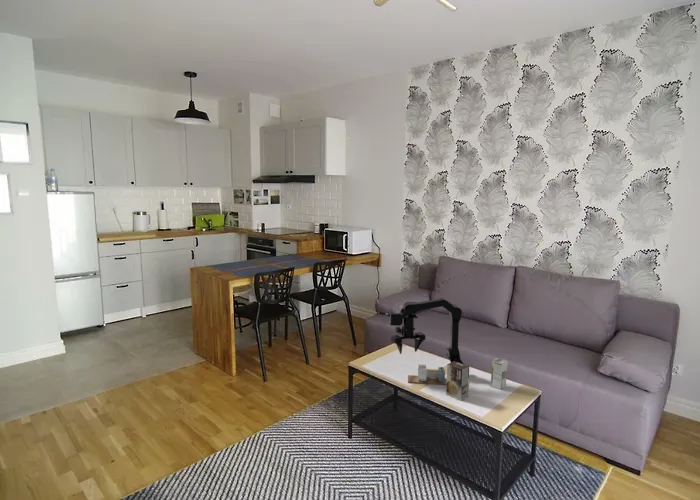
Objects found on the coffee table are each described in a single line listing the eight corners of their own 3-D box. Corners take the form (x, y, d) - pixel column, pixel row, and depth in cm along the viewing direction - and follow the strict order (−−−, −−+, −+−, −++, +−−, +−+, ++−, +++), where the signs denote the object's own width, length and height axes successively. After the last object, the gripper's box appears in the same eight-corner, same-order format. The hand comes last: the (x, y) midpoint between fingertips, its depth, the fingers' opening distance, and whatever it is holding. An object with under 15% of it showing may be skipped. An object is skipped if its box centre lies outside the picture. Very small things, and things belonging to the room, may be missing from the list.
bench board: (444, 378, 229) (444, 377, 229) (446, 385, 221) (446, 383, 221) (407, 376, 231) (407, 375, 231) (408, 382, 223) (408, 381, 223)
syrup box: (495, 383, 224) (497, 357, 222) (506, 386, 220) (507, 360, 218) (490, 386, 220) (491, 360, 218) (501, 390, 216) (502, 363, 214)
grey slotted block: (418, 381, 223) (419, 369, 222) (418, 375, 230) (418, 364, 229) (426, 381, 223) (426, 369, 222) (425, 376, 229) (425, 364, 228)
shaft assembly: (419, 381, 224) (419, 369, 223) (419, 376, 229) (419, 365, 228) (444, 382, 222) (445, 370, 222) (443, 378, 228) (443, 366, 227)
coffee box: (468, 397, 209) (470, 366, 206) (461, 401, 204) (462, 369, 202) (453, 390, 215) (454, 360, 213) (445, 394, 211) (446, 363, 209)
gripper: (416, 319, 239) (415, 345, 242) (386, 322, 233) (386, 349, 235) (426, 325, 229) (425, 352, 231) (395, 328, 223) (395, 357, 225)
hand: (408, 352), depth 231 cm, fingers open, 9 cm apart
